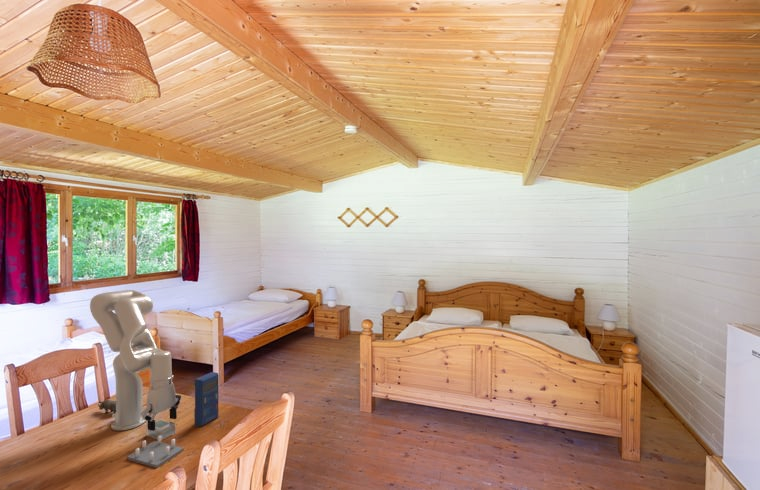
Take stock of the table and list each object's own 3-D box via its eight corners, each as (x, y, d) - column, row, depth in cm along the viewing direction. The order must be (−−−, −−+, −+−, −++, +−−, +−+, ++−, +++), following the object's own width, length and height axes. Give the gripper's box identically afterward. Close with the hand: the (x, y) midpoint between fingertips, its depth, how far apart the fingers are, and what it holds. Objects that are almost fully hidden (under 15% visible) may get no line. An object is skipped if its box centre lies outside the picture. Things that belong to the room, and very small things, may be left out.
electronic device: (202, 427, 151) (202, 380, 151) (193, 424, 153) (193, 378, 153) (219, 417, 160) (219, 373, 160) (211, 415, 162) (211, 371, 162)
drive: (146, 436, 144) (146, 424, 144) (161, 429, 150) (161, 418, 150) (160, 441, 140) (160, 429, 140) (175, 434, 146) (175, 423, 146)
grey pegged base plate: (126, 459, 128) (126, 448, 128) (154, 443, 139) (154, 433, 139) (156, 468, 123) (156, 456, 123) (183, 450, 134) (183, 440, 134)
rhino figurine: (103, 408, 168) (103, 395, 168) (124, 412, 164) (124, 399, 164) (94, 412, 164) (94, 399, 164) (115, 416, 160) (115, 403, 160)
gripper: (173, 374, 154) (174, 413, 154) (134, 389, 138) (135, 433, 138) (186, 375, 152) (187, 415, 151) (148, 391, 135) (149, 436, 135)
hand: (162, 424), depth 144 cm, fingers open, 9 cm apart
